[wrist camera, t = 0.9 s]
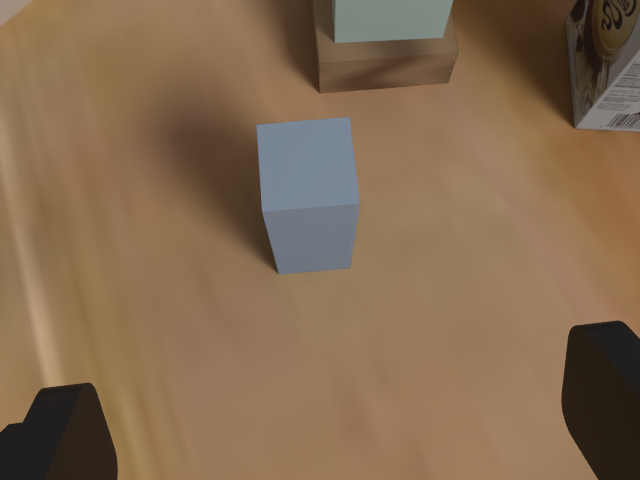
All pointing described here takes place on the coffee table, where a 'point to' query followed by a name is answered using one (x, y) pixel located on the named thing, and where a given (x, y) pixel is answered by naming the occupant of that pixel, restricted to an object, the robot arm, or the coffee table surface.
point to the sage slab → (389, 19)
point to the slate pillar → (309, 193)
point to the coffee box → (605, 64)
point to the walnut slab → (379, 58)
